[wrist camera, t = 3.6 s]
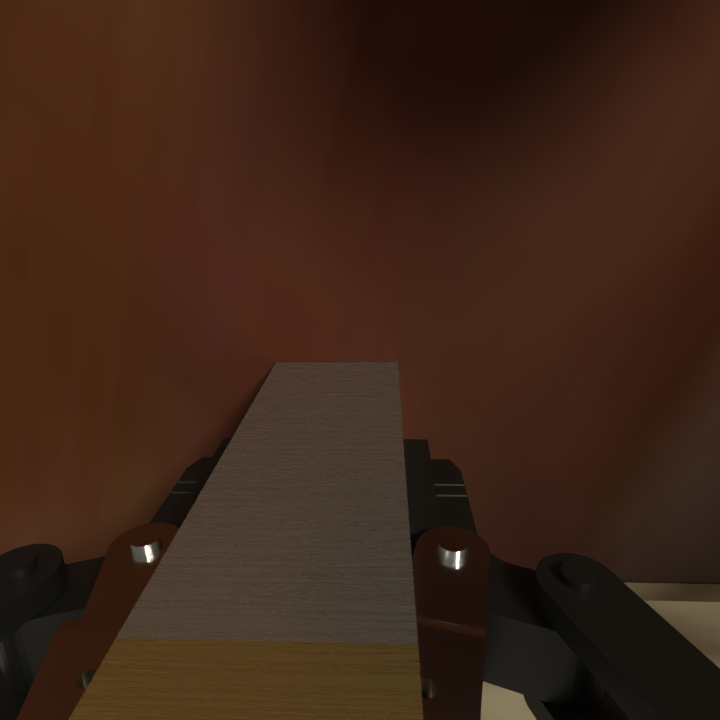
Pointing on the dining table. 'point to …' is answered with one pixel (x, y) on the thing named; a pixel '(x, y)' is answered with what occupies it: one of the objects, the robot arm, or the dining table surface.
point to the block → (670, 600)
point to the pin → (283, 570)
